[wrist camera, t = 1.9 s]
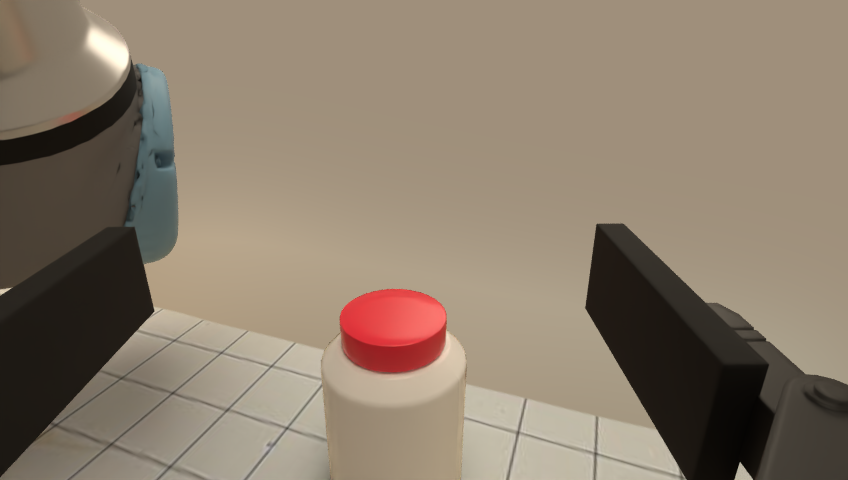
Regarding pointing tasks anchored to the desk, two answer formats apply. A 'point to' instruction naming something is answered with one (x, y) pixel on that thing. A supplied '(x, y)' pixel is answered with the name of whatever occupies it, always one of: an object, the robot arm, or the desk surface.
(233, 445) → the desk surface
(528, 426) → the desk surface
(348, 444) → the pill bottle
